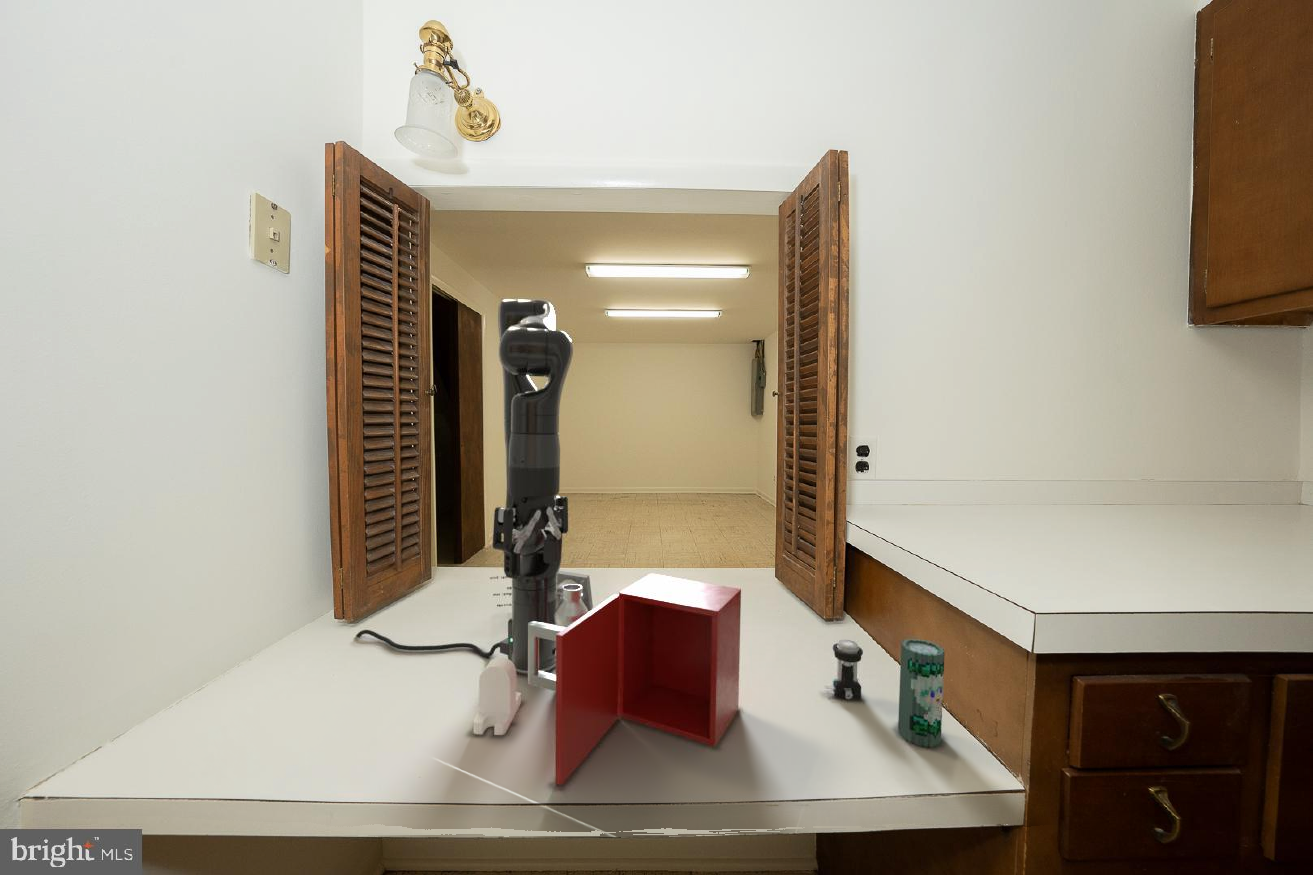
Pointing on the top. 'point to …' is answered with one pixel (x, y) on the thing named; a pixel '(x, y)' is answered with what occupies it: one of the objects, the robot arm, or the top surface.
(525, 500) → the robot arm
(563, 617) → the plastic bottle
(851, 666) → the push button
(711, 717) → the red upright rectangular box
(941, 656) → the can
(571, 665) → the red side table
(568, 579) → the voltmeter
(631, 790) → the top surface
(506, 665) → the cable organizer
